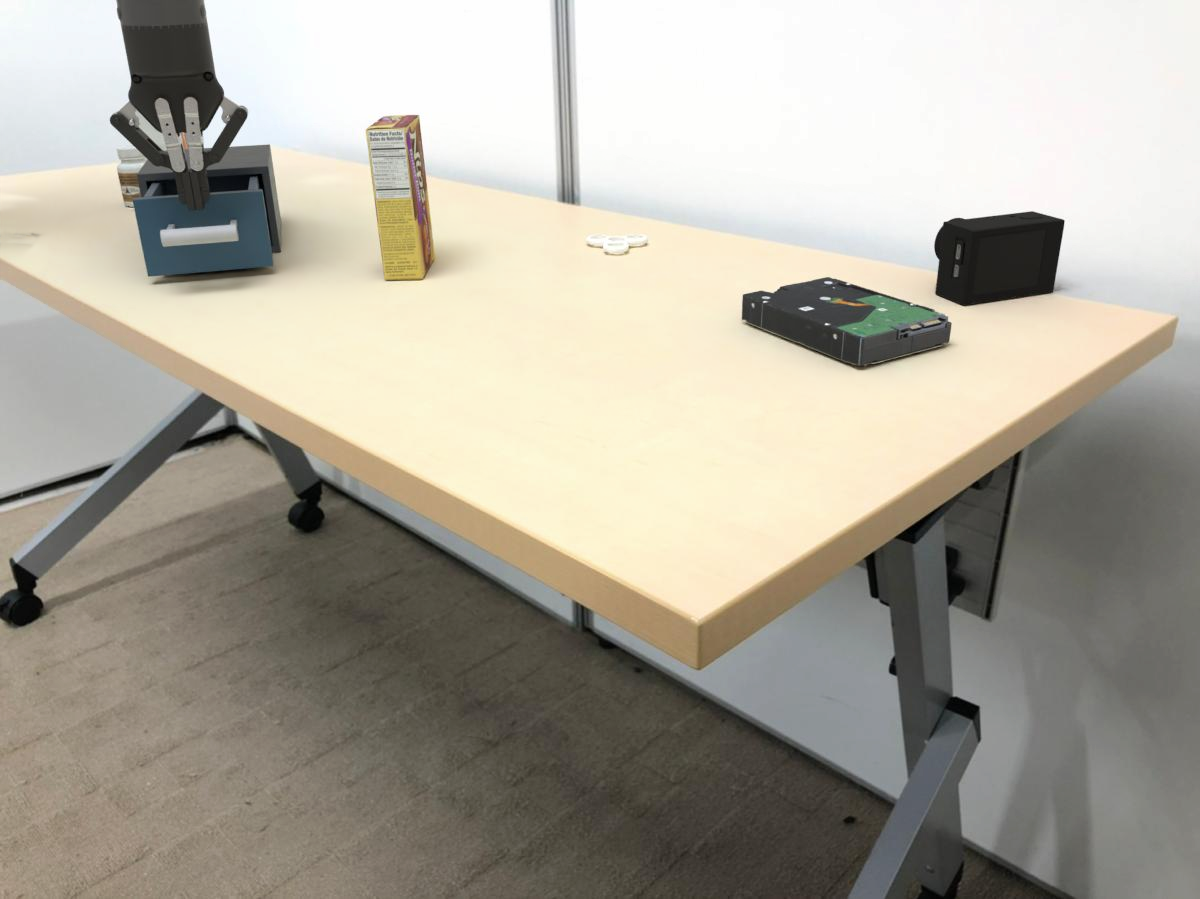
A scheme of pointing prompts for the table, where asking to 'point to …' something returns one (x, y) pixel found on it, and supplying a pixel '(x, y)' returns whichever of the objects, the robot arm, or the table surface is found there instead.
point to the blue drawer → (204, 228)
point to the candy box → (401, 196)
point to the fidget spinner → (616, 242)
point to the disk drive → (846, 320)
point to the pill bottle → (129, 172)
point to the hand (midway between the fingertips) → (196, 208)
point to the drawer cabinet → (232, 164)
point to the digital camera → (997, 257)
